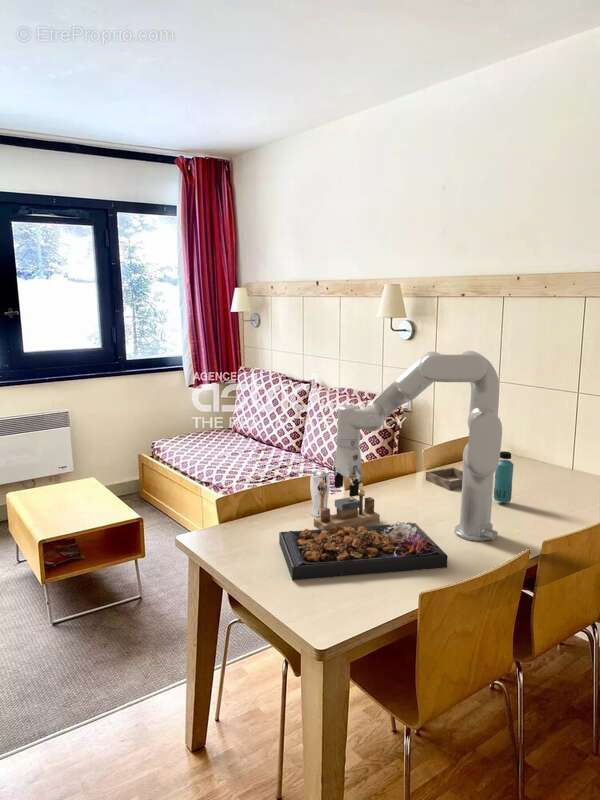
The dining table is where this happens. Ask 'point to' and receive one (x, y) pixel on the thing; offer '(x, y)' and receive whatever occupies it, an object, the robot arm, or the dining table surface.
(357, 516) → the wooden post stand
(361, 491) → the lever
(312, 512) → the beer glass
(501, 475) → the beverage bottle
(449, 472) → the square wooden tray
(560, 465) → the dining table surface
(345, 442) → the robot arm
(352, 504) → the grey rectangular block
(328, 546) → the food platter
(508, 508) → the dining table surface
